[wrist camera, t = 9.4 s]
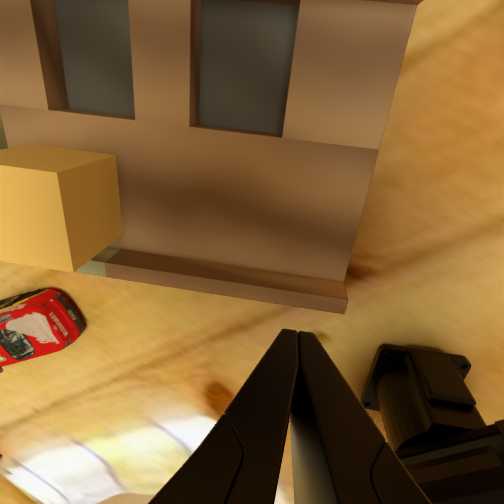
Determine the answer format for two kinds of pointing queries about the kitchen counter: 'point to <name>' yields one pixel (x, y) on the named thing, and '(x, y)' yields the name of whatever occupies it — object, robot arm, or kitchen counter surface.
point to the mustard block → (57, 206)
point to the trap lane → (215, 129)
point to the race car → (36, 325)
